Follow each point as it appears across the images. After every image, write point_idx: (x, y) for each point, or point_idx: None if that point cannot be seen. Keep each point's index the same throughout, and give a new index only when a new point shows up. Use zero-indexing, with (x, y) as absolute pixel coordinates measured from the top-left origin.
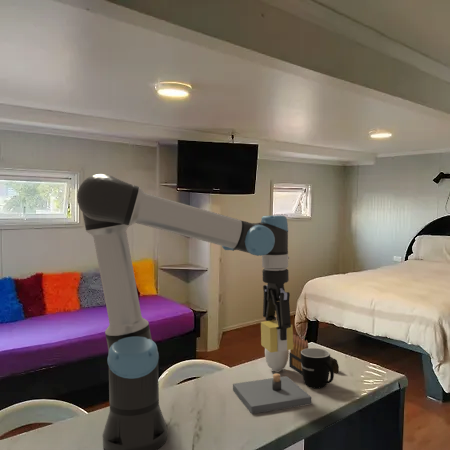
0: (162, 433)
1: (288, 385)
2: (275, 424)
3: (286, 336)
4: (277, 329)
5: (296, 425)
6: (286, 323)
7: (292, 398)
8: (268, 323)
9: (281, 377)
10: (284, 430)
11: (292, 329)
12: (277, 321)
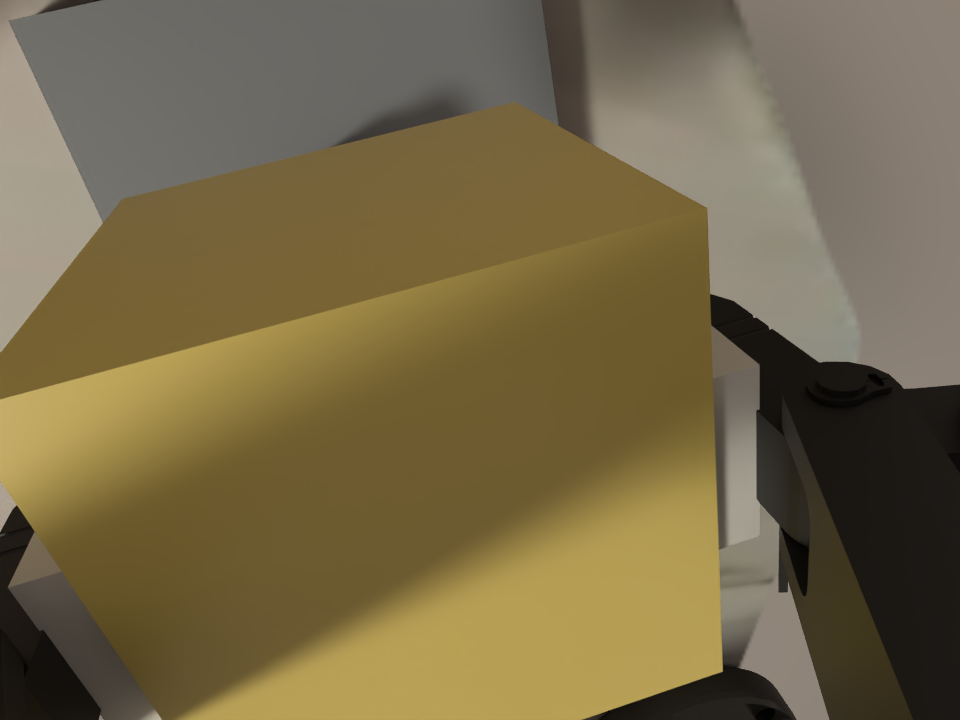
0: (760, 704)
1: (267, 63)
2: (719, 247)
3: (752, 317)
4: (721, 530)
5: (764, 125)
6: (918, 448)
7: (529, 91)
8: (395, 711)
9: (57, 90)
10: (791, 208)
11: (651, 182)
12: (225, 547)
